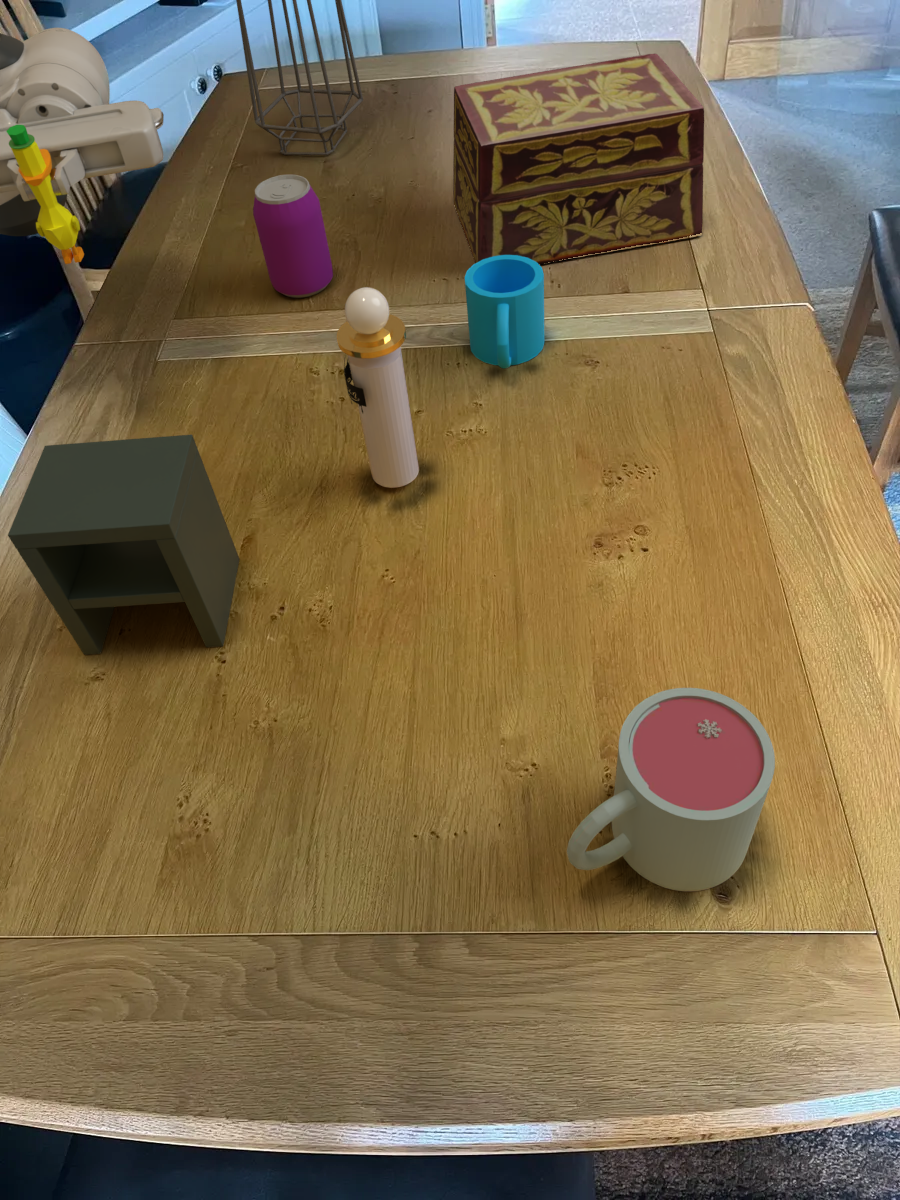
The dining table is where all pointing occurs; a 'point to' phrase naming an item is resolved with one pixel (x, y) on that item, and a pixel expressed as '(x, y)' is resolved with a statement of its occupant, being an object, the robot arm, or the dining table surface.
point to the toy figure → (45, 194)
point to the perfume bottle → (379, 385)
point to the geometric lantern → (251, 73)
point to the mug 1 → (505, 309)
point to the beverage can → (292, 236)
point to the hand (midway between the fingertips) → (42, 189)
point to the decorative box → (578, 160)
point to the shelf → (126, 534)
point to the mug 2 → (682, 791)
